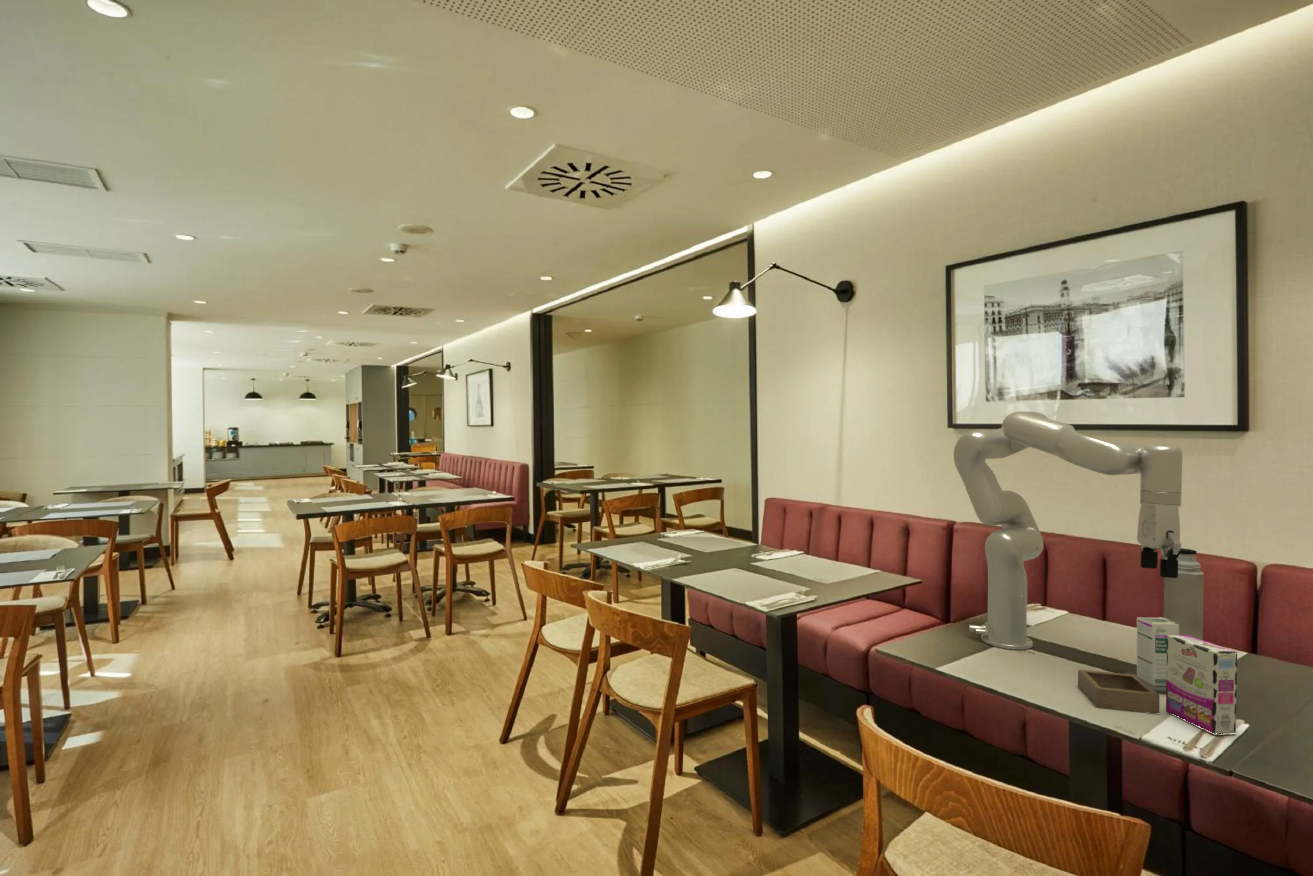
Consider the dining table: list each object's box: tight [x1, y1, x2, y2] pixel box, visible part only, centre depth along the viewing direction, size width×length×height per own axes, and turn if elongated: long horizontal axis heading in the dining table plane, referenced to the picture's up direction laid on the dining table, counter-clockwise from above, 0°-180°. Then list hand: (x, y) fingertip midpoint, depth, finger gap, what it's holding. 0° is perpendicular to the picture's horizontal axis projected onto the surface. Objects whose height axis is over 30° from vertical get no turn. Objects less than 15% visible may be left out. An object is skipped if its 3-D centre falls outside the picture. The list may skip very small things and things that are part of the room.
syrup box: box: [1136, 616, 1179, 686], centre depth 150 cm, size 6×6×14 cm
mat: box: [1124, 672, 1166, 695], centre depth 150 cm, size 10×10×1 cm
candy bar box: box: [1165, 635, 1238, 734], centre depth 131 cm, size 11×5×16 cm, turn 5°
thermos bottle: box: [1163, 548, 1205, 641], centre depth 170 cm, size 8×8×28 cm
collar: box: [1077, 669, 1161, 714], centre depth 142 cm, size 11×11×4 cm
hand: (1158, 572), depth 150 cm, fingers open, 9 cm apart
